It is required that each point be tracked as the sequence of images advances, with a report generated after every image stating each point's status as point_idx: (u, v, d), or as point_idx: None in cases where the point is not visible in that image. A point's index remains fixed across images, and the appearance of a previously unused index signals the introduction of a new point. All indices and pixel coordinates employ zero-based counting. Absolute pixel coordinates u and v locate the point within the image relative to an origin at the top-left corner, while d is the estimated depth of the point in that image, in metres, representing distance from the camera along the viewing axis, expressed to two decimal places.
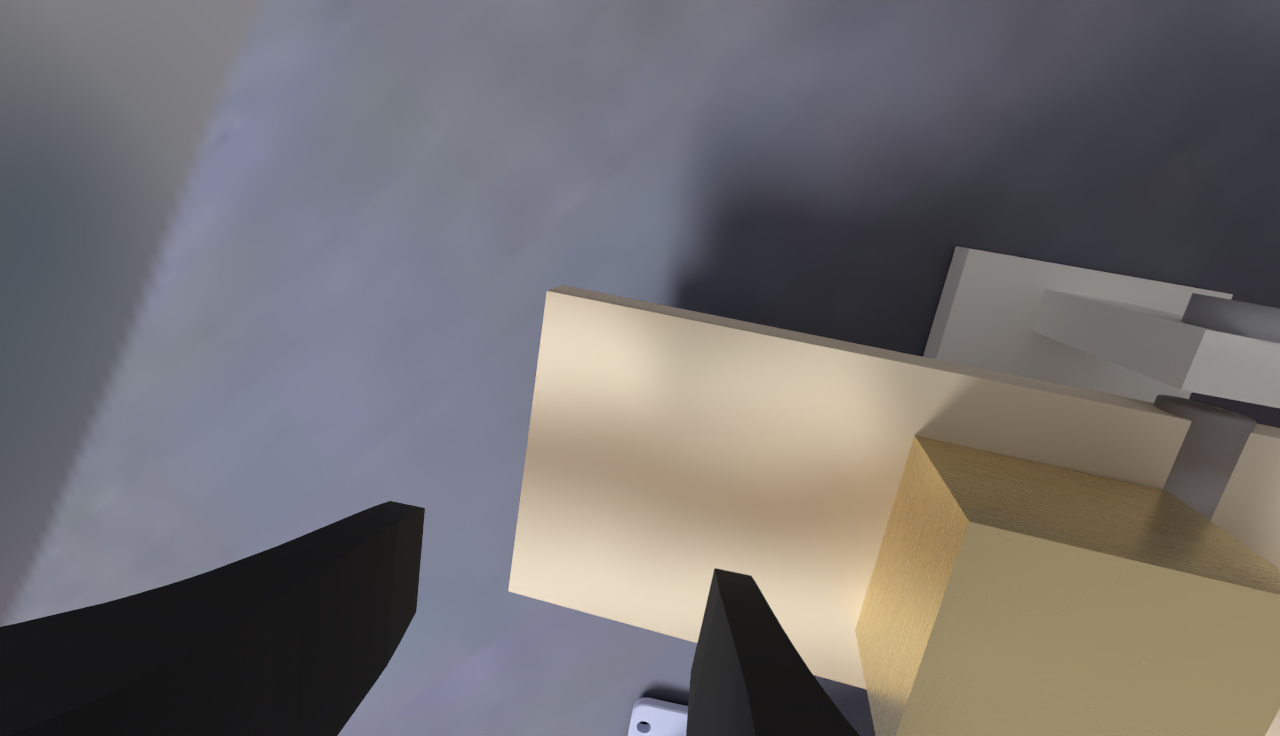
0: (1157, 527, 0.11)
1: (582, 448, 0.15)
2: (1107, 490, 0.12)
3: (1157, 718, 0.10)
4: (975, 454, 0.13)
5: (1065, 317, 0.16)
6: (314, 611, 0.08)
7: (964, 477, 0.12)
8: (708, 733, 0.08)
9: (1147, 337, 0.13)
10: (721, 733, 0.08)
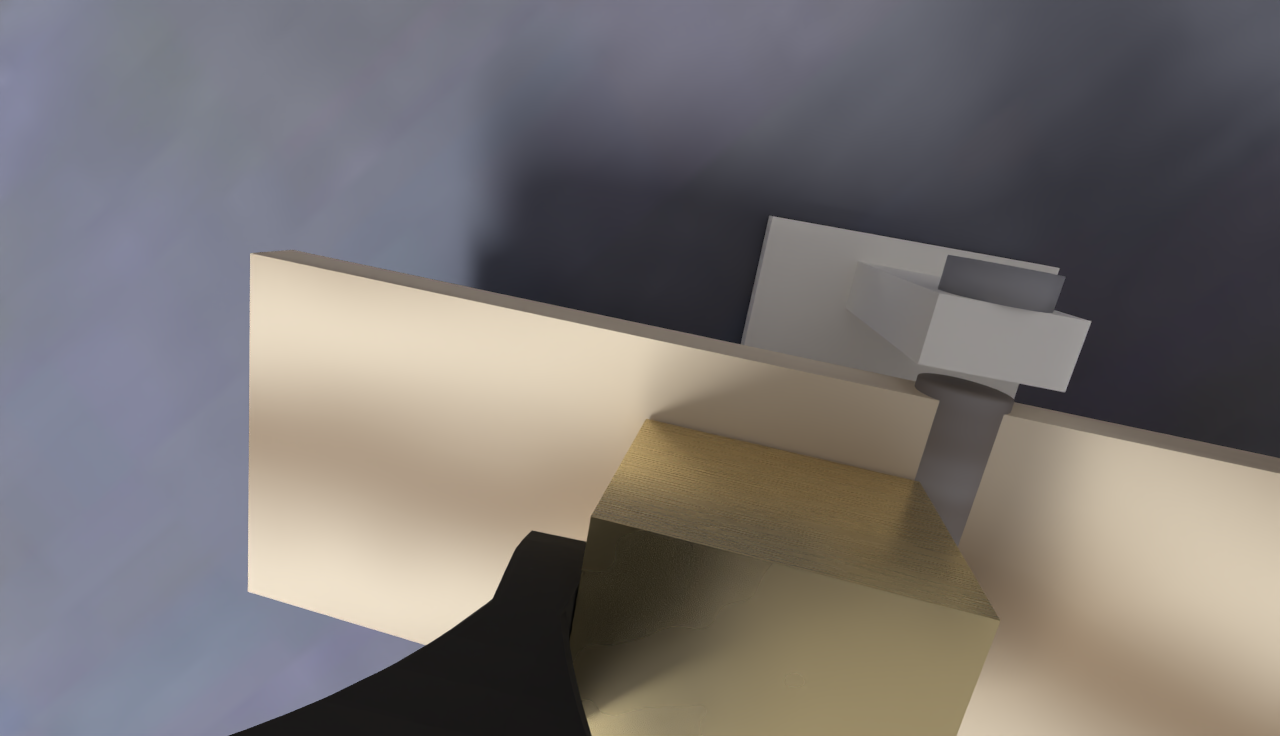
0: (857, 523, 0.09)
1: (305, 432, 0.14)
2: (836, 480, 0.11)
3: None
4: (703, 440, 0.11)
5: (864, 291, 0.15)
6: None
7: (653, 465, 0.10)
8: None
9: (905, 306, 0.12)
10: None
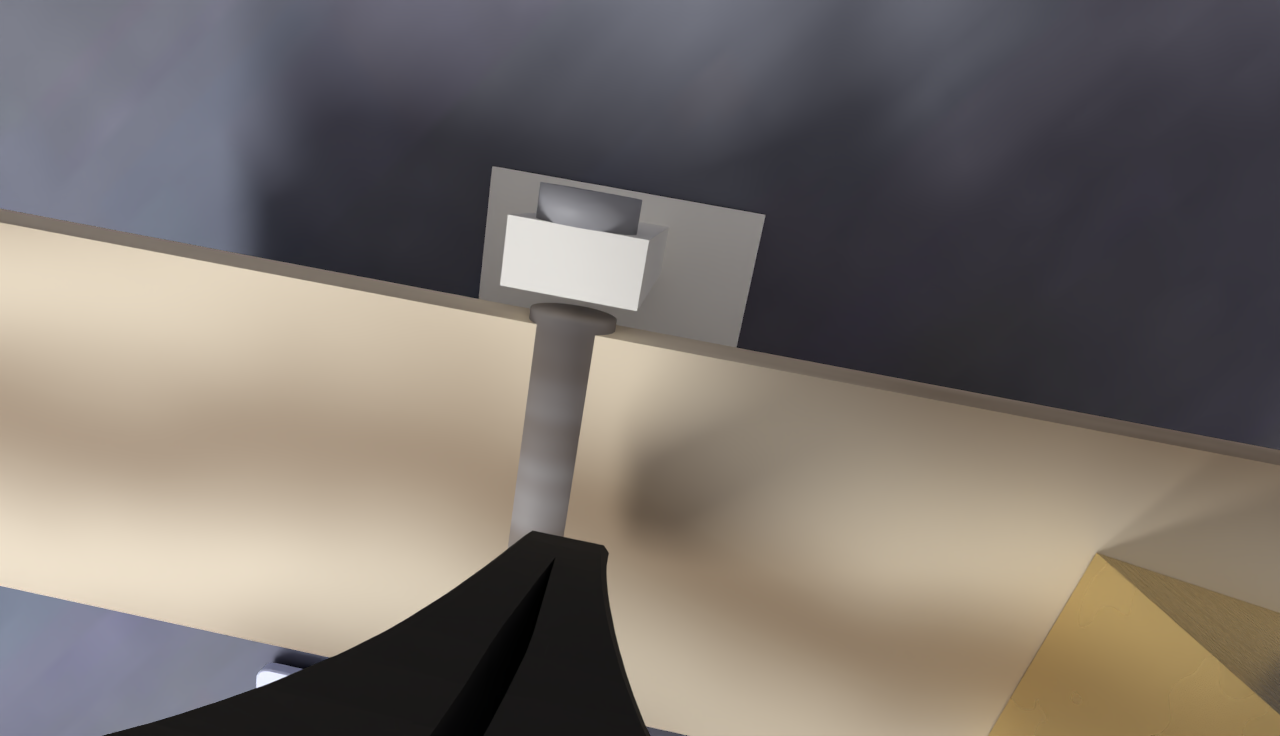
0: None
1: None
2: (1211, 624, 0.10)
3: None
4: None
5: None
6: (506, 653, 0.08)
7: None
8: None
9: None
10: None
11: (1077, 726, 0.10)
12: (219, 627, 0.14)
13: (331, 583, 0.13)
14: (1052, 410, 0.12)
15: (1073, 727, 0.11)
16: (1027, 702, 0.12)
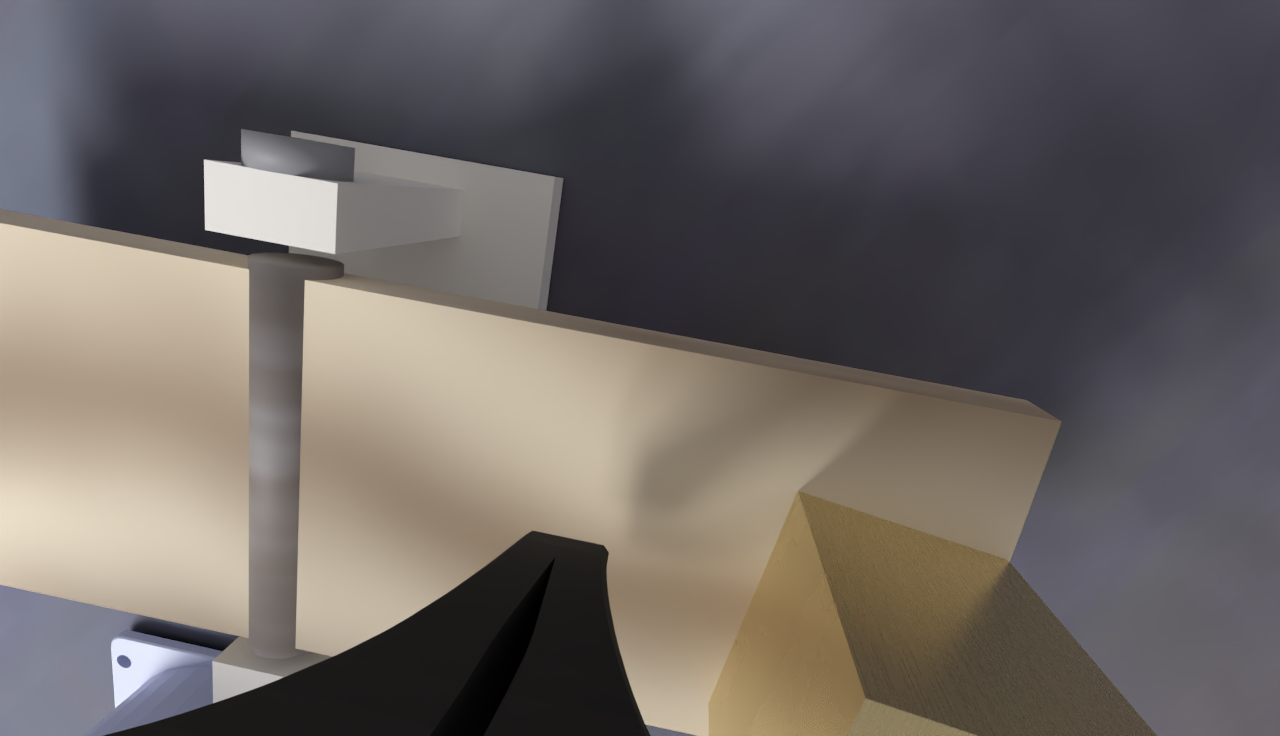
0: (947, 574, 0.10)
1: None
2: (864, 551, 0.10)
3: None
4: (875, 639, 0.08)
5: None
6: (505, 653, 0.08)
7: (1022, 722, 0.07)
8: None
9: None
10: None
11: (756, 655, 0.11)
12: None
13: (88, 531, 0.13)
14: (763, 354, 0.12)
15: (756, 657, 0.11)
16: (741, 639, 0.12)
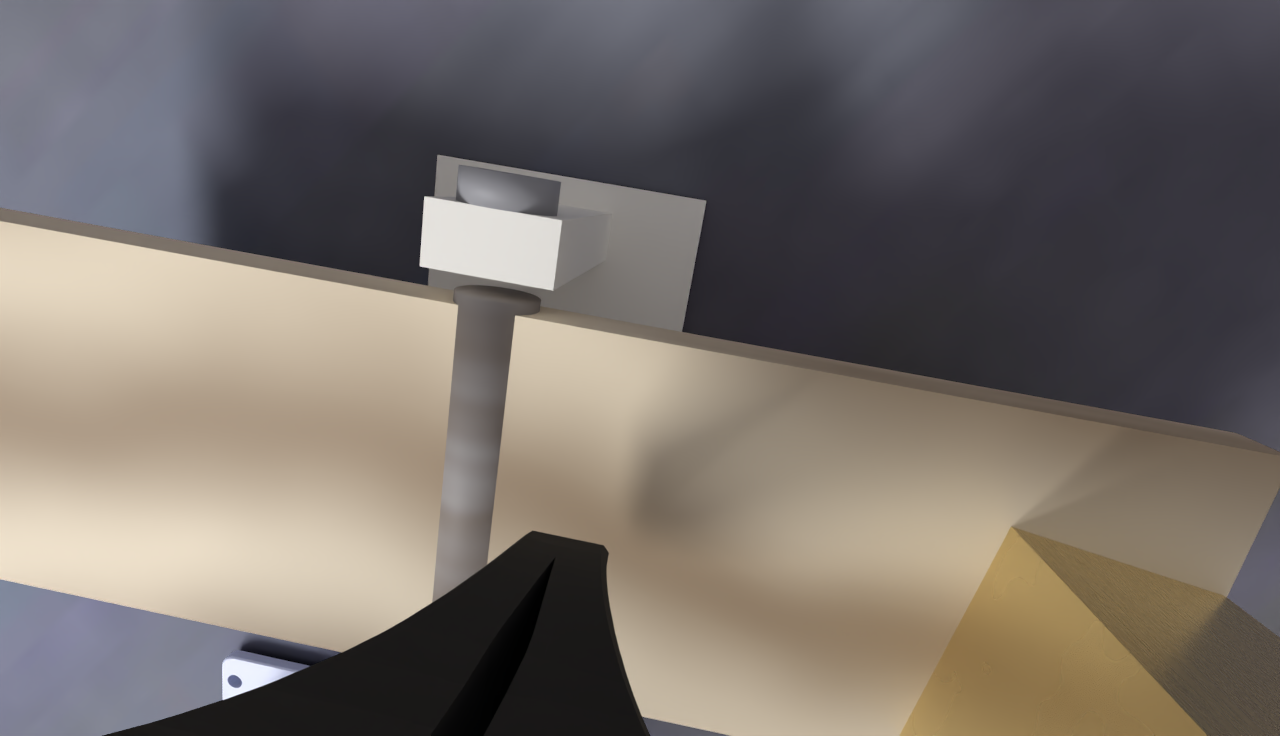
0: (1191, 615, 0.10)
1: None
2: (1110, 592, 0.10)
3: None
4: (1192, 694, 0.08)
5: None
6: (505, 653, 0.08)
7: None
8: None
9: None
10: None
11: (985, 695, 0.11)
12: (163, 608, 0.14)
13: (269, 563, 0.13)
14: (970, 387, 0.12)
15: (982, 696, 0.11)
16: (947, 674, 0.12)
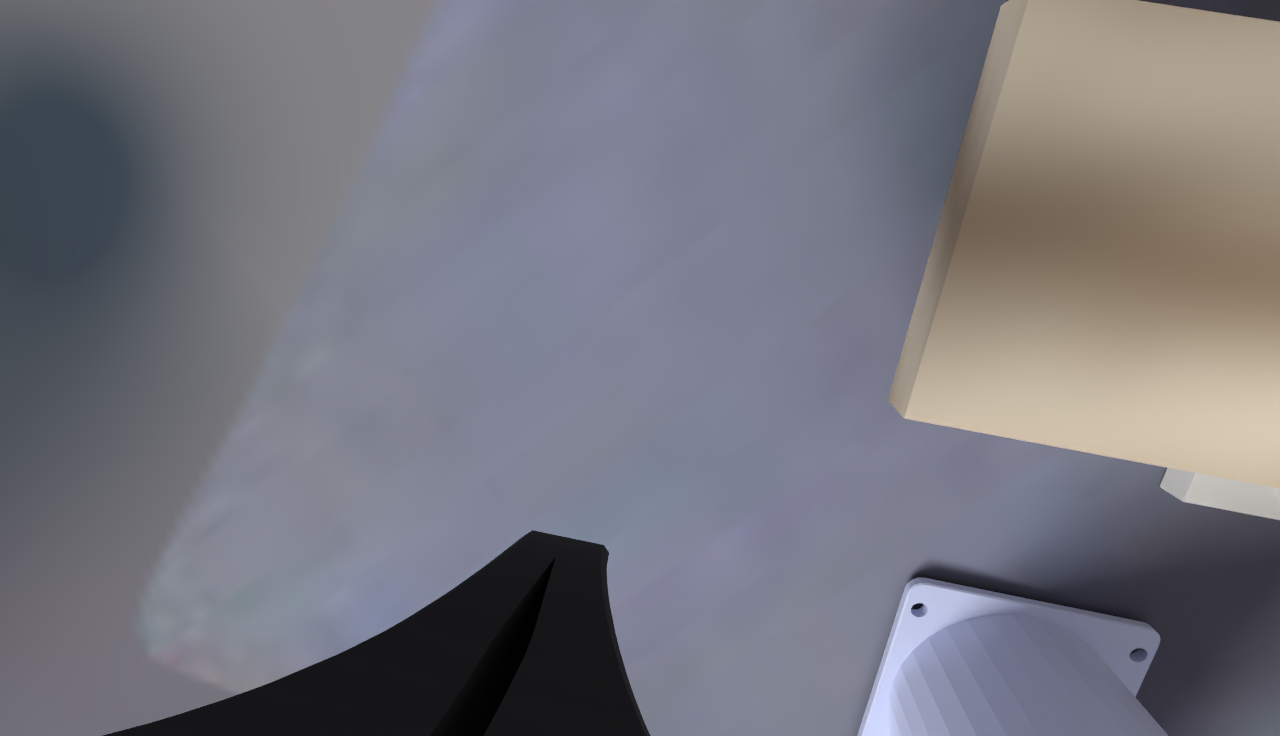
0: None
1: (1044, 210, 0.12)
2: None
3: None
4: None
5: None
6: (505, 653, 0.08)
7: None
8: None
9: None
10: None
11: None
12: (1269, 484, 0.13)
13: None
14: None
15: None
16: None
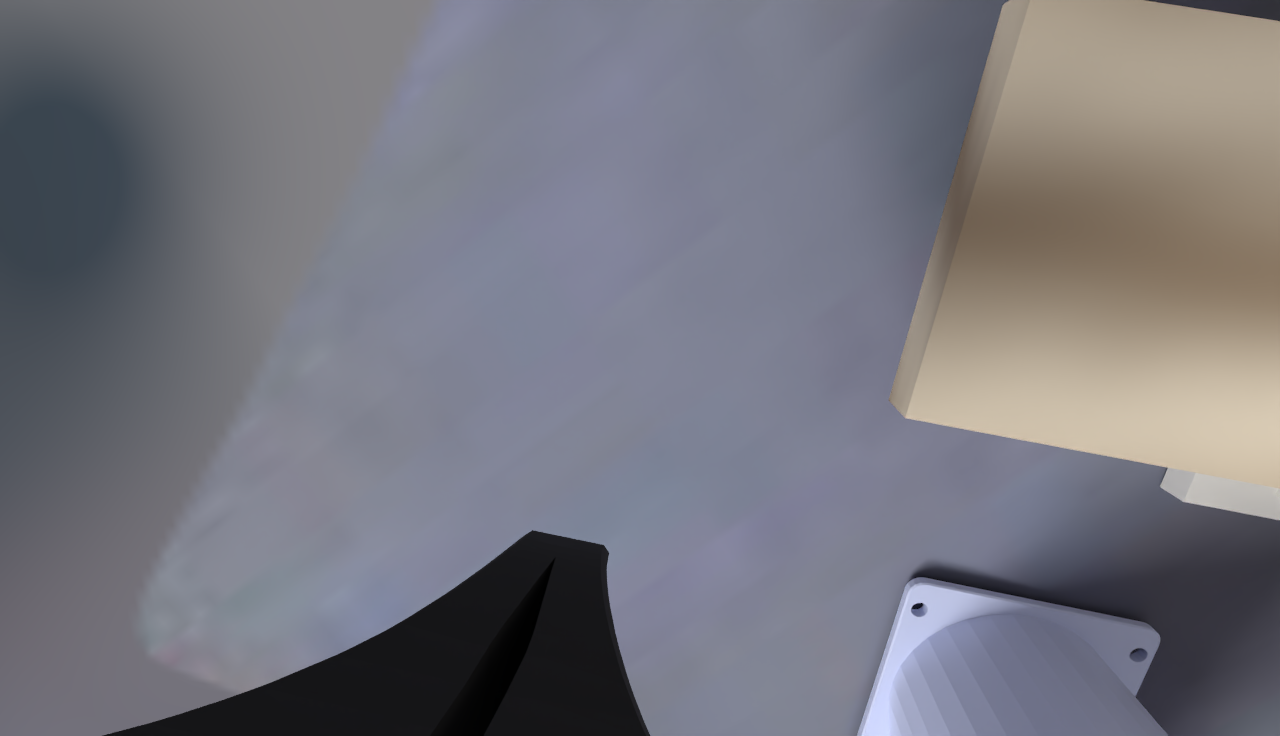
0: None
1: (1046, 210, 0.12)
2: None
3: None
4: None
5: None
6: (505, 653, 0.08)
7: None
8: None
9: None
10: None
11: None
12: (1270, 484, 0.13)
13: None
14: None
15: None
16: None
